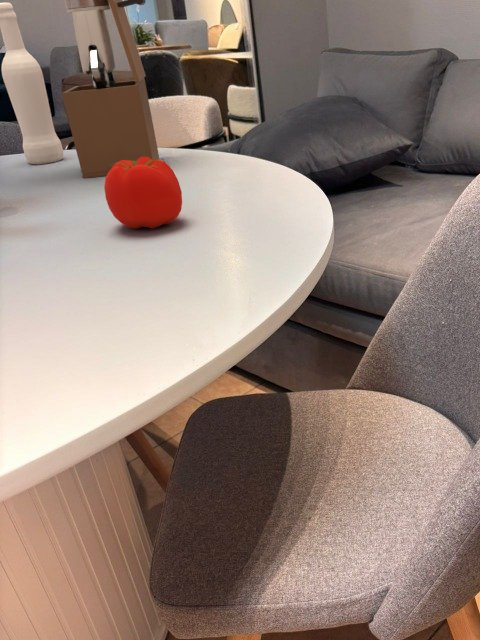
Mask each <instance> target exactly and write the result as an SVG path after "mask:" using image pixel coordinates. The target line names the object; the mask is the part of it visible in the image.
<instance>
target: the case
mask: <svg viewBox="0 0 480 640" xmlns="http://www.w3.org/2000/svg"><path fill="white" fill-rule="evenodd" d="M115 82H116V86H117V87H112V88H102V89H94V85H93V84H85V85H75V86H73V87H71V88H69V89H67V90H65V91H62V93H61V96H62V100H63V103H64V108H65V112H66V116H67V120H68V123H69V128H70V132H71V135H72V139H73V143H74V148H75V151H76V155H77V160H78V163H79V166H80V171H81V174H82V179H91V178H97V177H106V176H107V174H108V172H109V171H110V170H111V169H112V167H113V166H114V165H115V164H116V163H117V162H119V161H121V160H129V161H135V162H136V161H137V160H138V159H139V158H140V157H148V158H150V159H157V160H160V154H159V148H158V144H157V143H158V142H157V137H156V133H155V129H154V123H153V116H152V112H151V107H150V101H149V96H148V90H147V86H146V85H147V84H146V81H145V78H143V79H142V80H141V81H140V82H137V83H135V80H134V79H133V80H123V81H115ZM157 160H154V161H157ZM114 163H115V164H114ZM112 164H113V165H112ZM90 177H91V178H90Z"/></svg>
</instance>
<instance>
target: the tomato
mask: <svg viewBox="0 0 480 640" xmlns="http://www.w3.org/2000/svg"><path fill="white" fill-rule="evenodd" d="M154 160H157V159H150V158H148V157H140V158H139V159H138V160H137V161H136V162H135V161H129V160H121V161H119V162H117V163H116V164H115V163H114V164H115V165H114V166H113V167H112V169H111V170H110V171H109V172H108V174H107V176H105V177H104V187H103V188H104V194H105V195H104V196H105V201H106V203H107V206H108V209H109V210H110V212H111V214H112V215H113V217H114V218H115V219H116V220H117V221H118V222H119V223H120V224H122V225H124V226H126V227H127V228H129V229H141V228H143V227H144V228H150V229H156V228H158V227H161V226H162V225H169V224H171V223H173V222H174V221H175V220H177V218H178V217H179V216H180V213H181V212H182V206H183V193H182V189H181V186H180V182H179V179H178V177H177V176H176V174H175V172H174V170H173V169H172V168H171V166H170V165H169V164H168V163H167V162H166V161H164V160H161V159H158V160H157V161H154ZM112 165H113V164H112Z"/></svg>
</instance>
